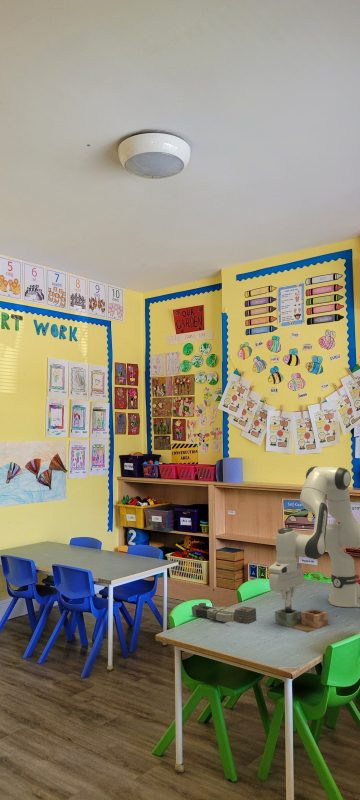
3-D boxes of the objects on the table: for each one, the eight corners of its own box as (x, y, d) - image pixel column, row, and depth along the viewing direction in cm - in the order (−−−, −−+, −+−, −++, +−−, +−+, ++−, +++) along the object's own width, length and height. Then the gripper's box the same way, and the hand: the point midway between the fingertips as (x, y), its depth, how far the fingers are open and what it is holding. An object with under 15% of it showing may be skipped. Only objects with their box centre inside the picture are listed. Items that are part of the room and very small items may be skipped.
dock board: (296, 619, 260) (295, 604, 260) (330, 627, 246) (329, 612, 247) (273, 626, 249) (273, 611, 250) (308, 636, 236) (307, 619, 236)
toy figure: (204, 599, 274) (258, 606, 256) (204, 614, 274) (259, 622, 256) (189, 604, 265) (245, 612, 247) (190, 619, 265) (245, 628, 247)
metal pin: (287, 613, 252) (287, 589, 252) (293, 614, 249) (292, 591, 250) (283, 614, 250) (282, 591, 250) (289, 616, 247) (288, 592, 248)
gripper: (295, 561, 260) (296, 592, 259) (266, 568, 247) (267, 601, 246) (306, 563, 256) (308, 594, 254) (277, 570, 242) (279, 603, 241)
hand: (287, 597), depth 250 cm, fingers closed on metal pin, 3 cm apart
